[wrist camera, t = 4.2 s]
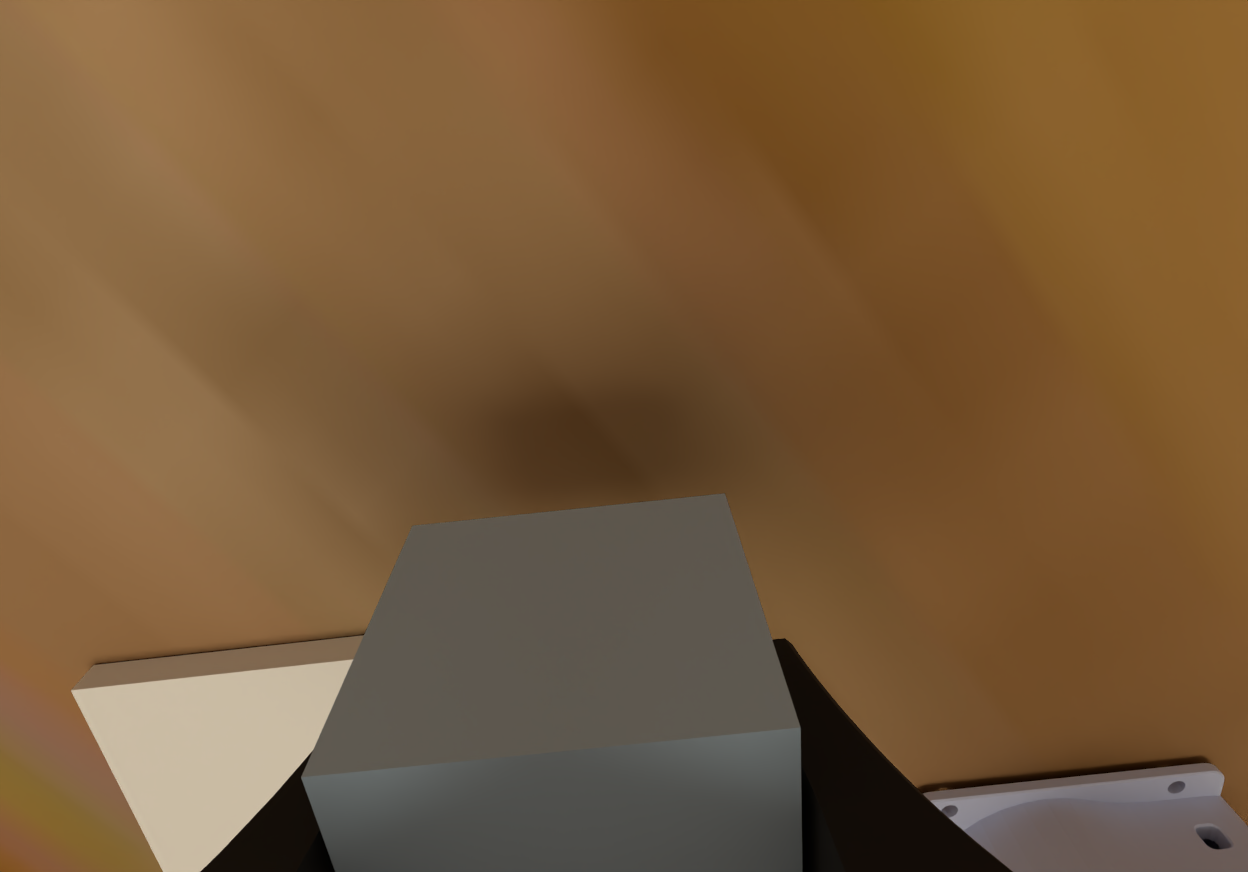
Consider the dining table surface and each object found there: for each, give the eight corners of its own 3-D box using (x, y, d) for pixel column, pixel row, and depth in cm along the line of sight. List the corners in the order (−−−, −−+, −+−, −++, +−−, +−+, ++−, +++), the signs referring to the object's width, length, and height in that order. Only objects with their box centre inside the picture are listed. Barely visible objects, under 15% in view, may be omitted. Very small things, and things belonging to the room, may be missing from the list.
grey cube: (724, 493, 12) (800, 727, 8) (738, 732, 14) (804, 1033, 10) (412, 525, 12) (301, 776, 8) (468, 760, 14) (407, 1070, 10)
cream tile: (522, 617, 21) (519, 640, 20) (580, 908, 26) (579, 937, 25) (93, 665, 21) (70, 690, 20) (229, 944, 26) (216, 975, 25)
